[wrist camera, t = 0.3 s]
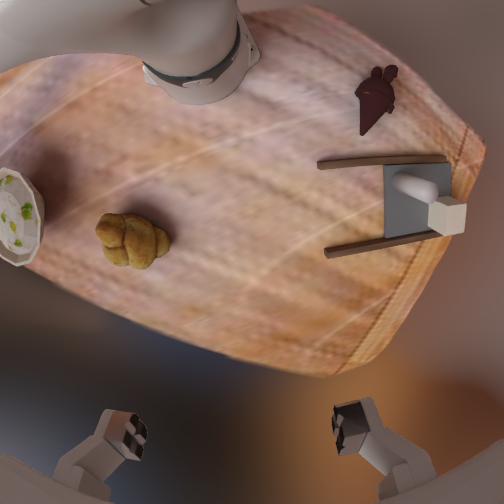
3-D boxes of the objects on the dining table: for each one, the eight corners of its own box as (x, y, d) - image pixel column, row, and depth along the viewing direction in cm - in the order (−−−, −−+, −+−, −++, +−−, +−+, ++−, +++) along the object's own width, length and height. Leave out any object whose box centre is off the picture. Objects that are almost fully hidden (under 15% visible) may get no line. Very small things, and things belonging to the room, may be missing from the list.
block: (429, 198, 45) (447, 206, 40) (448, 195, 45) (466, 203, 40) (427, 226, 47) (444, 236, 42) (446, 222, 47) (463, 232, 42)
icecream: (390, 148, 36) (413, 77, 32) (360, 124, 33) (386, 50, 29) (362, 144, 42) (386, 79, 38) (332, 123, 39) (359, 56, 35)
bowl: (20, 144, 36) (-11, 151, 27) (79, 187, 42) (49, 201, 32) (1, 220, 42) (-26, 235, 33) (53, 264, 47) (28, 287, 38)
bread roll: (178, 223, 46) (168, 240, 39) (164, 270, 49) (154, 293, 42) (113, 201, 43) (92, 214, 36) (104, 249, 47) (86, 267, 39)
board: (382, 165, 43) (417, 174, 33) (448, 162, 43) (484, 172, 33) (384, 236, 49) (413, 260, 39) (445, 224, 49) (477, 243, 39)
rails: (316, 161, 43) (320, 162, 41) (440, 155, 43) (446, 156, 41) (324, 254, 50) (327, 259, 48) (438, 232, 50) (443, 235, 48)
